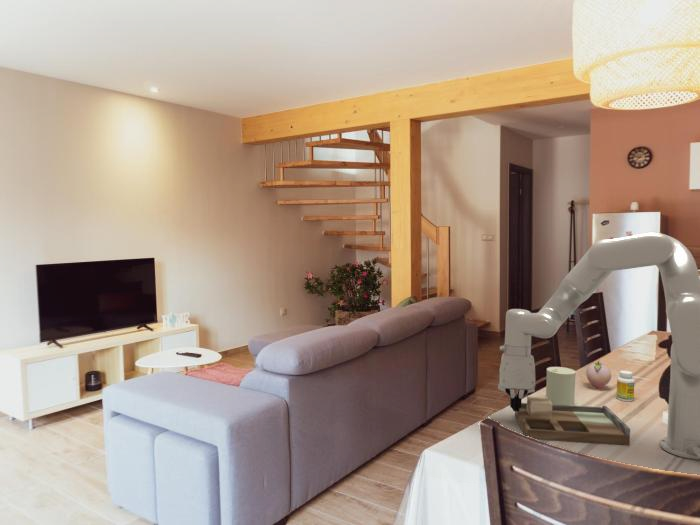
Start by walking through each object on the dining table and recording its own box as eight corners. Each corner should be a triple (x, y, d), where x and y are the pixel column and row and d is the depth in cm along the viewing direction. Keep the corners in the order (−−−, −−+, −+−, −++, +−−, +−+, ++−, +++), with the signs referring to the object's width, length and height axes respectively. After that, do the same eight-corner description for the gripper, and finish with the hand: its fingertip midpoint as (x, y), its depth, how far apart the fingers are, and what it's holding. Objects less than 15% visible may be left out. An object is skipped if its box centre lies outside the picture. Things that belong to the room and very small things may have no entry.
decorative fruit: (612, 393, 193) (614, 365, 192) (588, 390, 195) (589, 363, 194) (607, 385, 202) (609, 359, 201) (584, 383, 204) (585, 357, 203)
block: (551, 418, 159) (552, 403, 159) (530, 417, 160) (531, 402, 159) (546, 411, 165) (547, 397, 164) (526, 410, 166) (527, 396, 165)
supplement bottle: (621, 395, 190) (623, 369, 189) (636, 400, 185) (638, 372, 184) (613, 398, 187) (614, 371, 186) (628, 402, 182) (629, 375, 182)
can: (539, 401, 182) (540, 366, 182) (560, 398, 186) (562, 364, 185) (558, 410, 174) (560, 373, 173) (580, 407, 177) (582, 371, 176)
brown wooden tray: (629, 444, 146) (630, 428, 146) (527, 438, 150) (527, 423, 149) (605, 420, 165) (605, 405, 165) (514, 415, 169) (515, 401, 168)
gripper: (494, 352, 159) (492, 412, 160) (546, 354, 157) (543, 415, 158) (490, 346, 166) (488, 404, 168) (540, 348, 165) (538, 407, 166)
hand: (515, 409), depth 163 cm, fingers closed
